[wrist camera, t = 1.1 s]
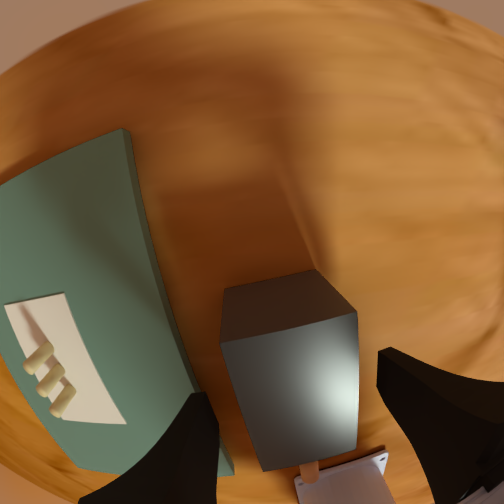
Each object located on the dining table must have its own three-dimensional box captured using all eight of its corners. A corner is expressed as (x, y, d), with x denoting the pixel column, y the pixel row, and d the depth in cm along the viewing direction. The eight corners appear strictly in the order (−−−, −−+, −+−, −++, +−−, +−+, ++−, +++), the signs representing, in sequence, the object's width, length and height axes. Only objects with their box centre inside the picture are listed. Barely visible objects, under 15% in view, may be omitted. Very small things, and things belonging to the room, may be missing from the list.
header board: (234, 465, 16) (235, 502, 13) (81, 460, 16) (69, 487, 13) (129, 132, 11) (97, 115, 8) (-33, 212, 11) (-67, 219, 8)
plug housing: (330, 426, 16) (352, 481, 11) (266, 441, 16) (274, 500, 11) (316, 269, 13) (357, 311, 8) (224, 289, 13) (219, 342, 8)
